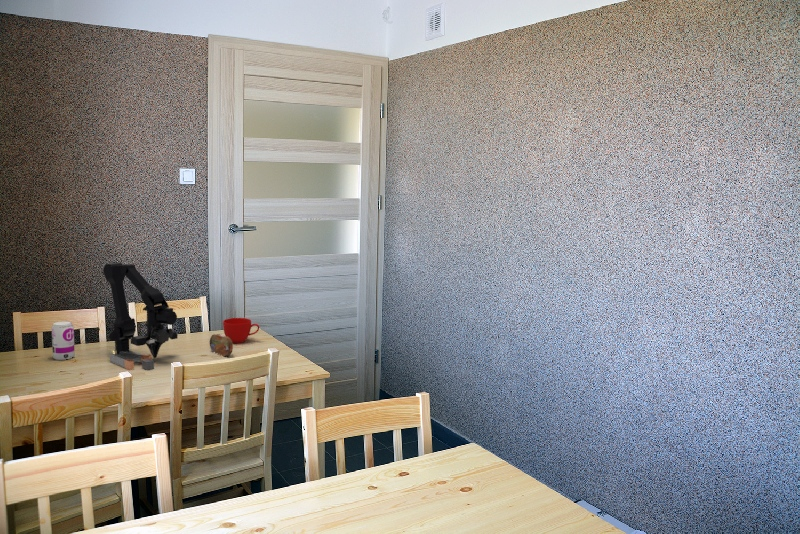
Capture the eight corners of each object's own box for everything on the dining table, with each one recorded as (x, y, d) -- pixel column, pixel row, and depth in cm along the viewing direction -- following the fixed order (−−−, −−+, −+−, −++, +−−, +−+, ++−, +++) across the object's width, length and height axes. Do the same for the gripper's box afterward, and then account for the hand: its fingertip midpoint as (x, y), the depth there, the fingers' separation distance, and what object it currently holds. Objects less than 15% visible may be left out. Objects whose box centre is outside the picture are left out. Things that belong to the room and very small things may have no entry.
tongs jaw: (119, 360, 283) (119, 352, 282) (122, 359, 285) (121, 351, 284) (149, 363, 279) (149, 355, 279) (152, 362, 281) (151, 354, 280)
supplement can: (79, 357, 286) (77, 322, 284) (62, 361, 279) (60, 326, 277) (65, 354, 289) (64, 320, 287) (48, 358, 282) (47, 323, 280)
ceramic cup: (256, 345, 313) (256, 324, 312) (219, 344, 313) (219, 323, 312) (262, 338, 326) (262, 318, 325) (227, 337, 326) (227, 317, 325)
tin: (209, 351, 302) (208, 332, 301) (215, 349, 304) (215, 331, 303) (227, 358, 292) (227, 339, 291) (234, 357, 294) (234, 338, 293)
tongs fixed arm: (107, 360, 282) (107, 351, 282) (115, 359, 285) (114, 349, 284) (129, 370, 271) (129, 360, 270) (137, 368, 273) (137, 358, 273)
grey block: (142, 367, 274) (141, 360, 273) (148, 366, 276) (148, 358, 276) (147, 370, 271) (147, 362, 271) (154, 368, 274) (153, 360, 273)
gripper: (143, 328, 271) (144, 366, 273) (184, 321, 285) (185, 357, 288) (129, 323, 278) (130, 360, 280) (170, 317, 292) (170, 352, 295)
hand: (154, 357), depth 286 cm, fingers closed
